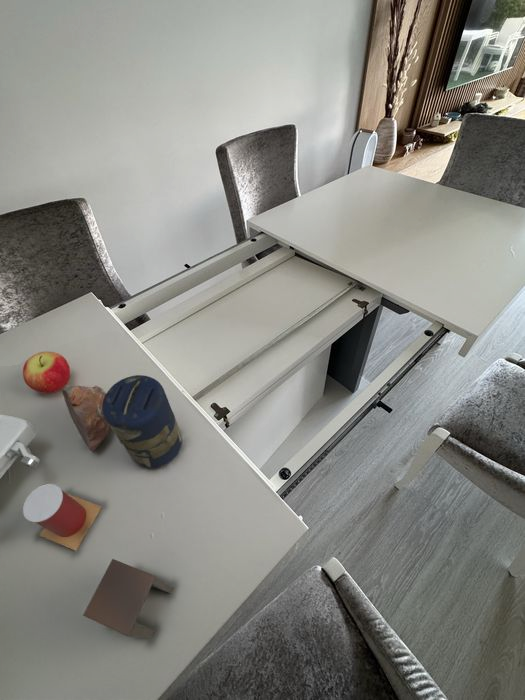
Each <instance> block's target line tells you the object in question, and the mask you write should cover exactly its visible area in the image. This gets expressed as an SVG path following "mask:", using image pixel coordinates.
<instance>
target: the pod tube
mask: <svg viewBox="0 0 525 700" xmlns="http://www.w3.org/2000/svg"><path fill="white" fill-rule="evenodd" d="M67 494H68V493H66V492H65V491H64V490H62V489H61V487H60V486H58V484H54V483H47V484H43V485H40V486H38V487H36V488H35V489H33V490H32V491H31V492H30V493H29V494H28V496H27V497H26V499H25V500H24V503H23V507H22V513H23V517H24V518H25V519H26V520H27V521H29V522H31V523H35V524H36V525H38V526H40V527H41V528H43V529H44V528H46V529H47V530H49V531H51V532H53V533H55V534H57V535H59V536H61V537H68V536H71V535H73V534H75V533H77V532H78V531H79V530H80V529H81V528H82V526H83V525H84V523H85V520H86V510H85V508H84V507H83V506H82V505H80V504H79V503H78V502H77V501H75V500H74V499H73V498H71V497H70V496H69V495H70V494H69V495H67Z"/></svg>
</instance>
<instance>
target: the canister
mask: <svg viewBox="0 0 525 700" xmlns="http://www.w3.org/2000/svg"><path fill="white" fill-rule="evenodd" d="M102 410H103V414H104V417H105V419H106V421H107V422H108V424H109V425H108V426H109V427H110V429H111V430H112V432H113V433H114V434H115V436H116V438H117V439H118V441H119V443H120V444H121V445H122V446H123V447H124V449H125V450H126V452H127V453H128V454H129V456H130V457H131V458H132V461H134V462H135V463H136V465H139V466H140V467H143V468H146V469H157V468H160V467H164V466H166V465H167V464H170V462H172V461H173V460H174V459H175V458H176V457H177V455H179V452H180V450H181V448H182V443H183V436H182V432H181V429H180V427H179V424H178V421H177V419H176V416H175V413H174V411H173V409H172V407H171V403H170V401H169V399H168V396H167V394H166V391H165V389H164V387H163V386H162V384H161V383H160V382H159V381H158V380H157V379H156V378H154V377H151V376H149V375H142V374H137V375H131V376H128V377H124V378H122V379H120V380H118V381H117V382H116V383H115V384H113V385H112V386H111V387H110V388H109V389H108V390H107V391H106V395H105V397H104V400H103V404H102Z"/></svg>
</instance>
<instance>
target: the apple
mask: <svg viewBox="0 0 525 700" xmlns="http://www.w3.org/2000/svg"><path fill="white" fill-rule="evenodd" d="M70 369H71V368H70V365H69V363H68V360H67V359H66V358H65V357H64V356H63V355H62V354H60V353H58V352H55V351H48V350H47V351H40V352H38V353H35V354H33V355H32V356H30V357H29V358H28V359H27V360H26V361H25V363H24V364H23V368H22V377H23V381H24V383H25V384H26V386H27V387H28V388H30V389H31V390H34V391H36V392H38V393H42V394H53V393H57V392H59V391H60V390H63V389H64V388H66V387H67V385H68V384H69V380H70V377H71V370H70Z"/></svg>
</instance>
